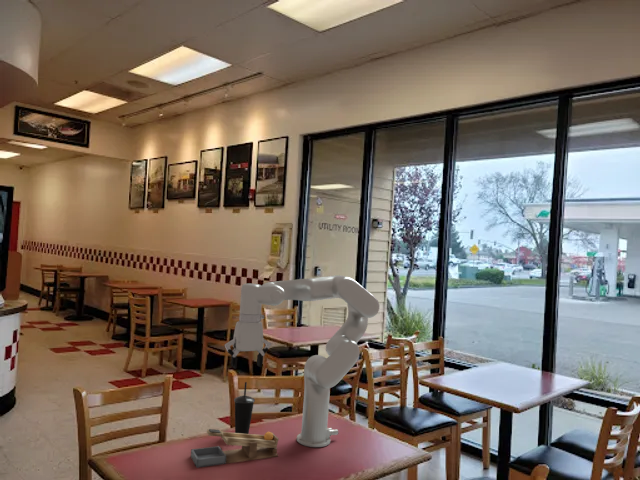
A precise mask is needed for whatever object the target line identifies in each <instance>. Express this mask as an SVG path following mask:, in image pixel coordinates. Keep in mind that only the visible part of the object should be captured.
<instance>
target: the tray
mask: <svg viewBox="0 0 640 480" xmlns="http://www.w3.org/2000/svg"><path fill="white" fill-rule="evenodd" d="M223 451H224V450H223V449H222V448H221V447H220V446H219V445H218V446H217V445H216V446H209V447H201V448H192V449H190V458H191V460H192V462H193V463H194V466H195V467H196V469H198V468H205V467H211V466H220V465H226V464H227V463H226V455H225V453H224V452H223Z"/></svg>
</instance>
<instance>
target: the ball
mask: <svg viewBox="0 0 640 480" xmlns="http://www.w3.org/2000/svg"><path fill="white" fill-rule="evenodd" d="M272 433H273V432H272ZM272 433H271V431H267V432H265V433H264V434H263V435H264V439H265V440H272V439H273V434H274V433H273V434H272Z"/></svg>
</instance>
